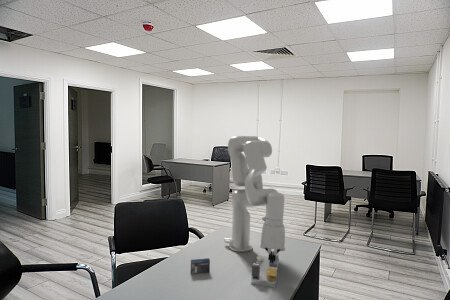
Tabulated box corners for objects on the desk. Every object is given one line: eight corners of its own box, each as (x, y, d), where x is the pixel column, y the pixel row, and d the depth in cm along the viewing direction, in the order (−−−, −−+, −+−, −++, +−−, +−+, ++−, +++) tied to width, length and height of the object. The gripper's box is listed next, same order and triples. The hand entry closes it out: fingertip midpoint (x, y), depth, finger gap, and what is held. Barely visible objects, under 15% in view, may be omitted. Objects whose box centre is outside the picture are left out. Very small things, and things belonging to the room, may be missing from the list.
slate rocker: (268, 265, 135) (268, 263, 135) (270, 253, 144) (270, 251, 144) (278, 266, 134) (278, 264, 134) (279, 255, 143) (279, 252, 143)
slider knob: (251, 276, 124) (252, 265, 124) (252, 272, 127) (253, 262, 127) (258, 277, 124) (259, 266, 123) (259, 273, 127) (260, 263, 126)
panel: (250, 283, 123) (251, 275, 123) (257, 259, 146) (258, 252, 146) (275, 287, 121) (275, 278, 121) (278, 262, 144) (279, 254, 144)
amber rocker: (265, 274, 123) (265, 271, 123) (267, 269, 132) (267, 266, 132) (276, 276, 122) (276, 273, 122) (277, 270, 131) (277, 267, 131)
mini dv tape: (191, 274, 129) (191, 261, 129) (190, 273, 131) (190, 259, 130) (209, 272, 132) (209, 259, 131) (208, 271, 133) (209, 258, 133)
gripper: (255, 222, 127) (253, 263, 129) (291, 226, 124) (289, 268, 126) (257, 216, 134) (255, 255, 136) (291, 220, 131) (289, 260, 133)
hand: (271, 261), depth 131 cm, fingers closed
